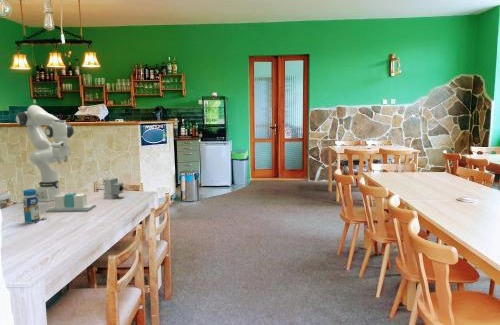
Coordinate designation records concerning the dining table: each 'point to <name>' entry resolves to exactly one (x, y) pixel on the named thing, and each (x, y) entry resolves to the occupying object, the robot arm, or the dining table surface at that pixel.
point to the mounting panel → (79, 206)
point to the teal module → (69, 199)
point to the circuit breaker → (112, 188)
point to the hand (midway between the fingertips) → (62, 162)
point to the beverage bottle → (31, 206)
